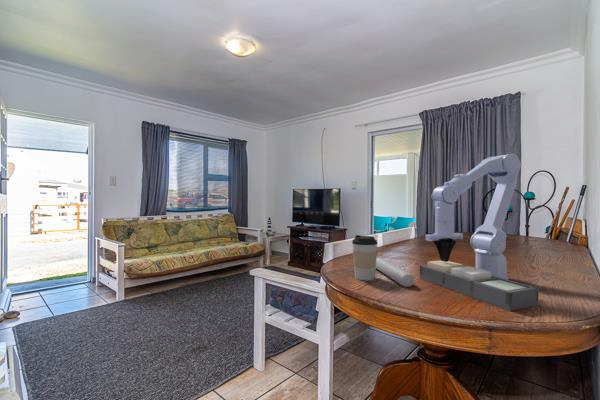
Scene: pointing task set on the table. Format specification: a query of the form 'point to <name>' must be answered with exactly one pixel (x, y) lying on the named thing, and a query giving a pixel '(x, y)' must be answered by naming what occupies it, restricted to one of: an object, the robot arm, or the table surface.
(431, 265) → the sand key
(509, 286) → the sage key
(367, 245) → the coffee cup
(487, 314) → the table surface
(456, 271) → the middle key
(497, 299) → the grey button box
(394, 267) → the tube
